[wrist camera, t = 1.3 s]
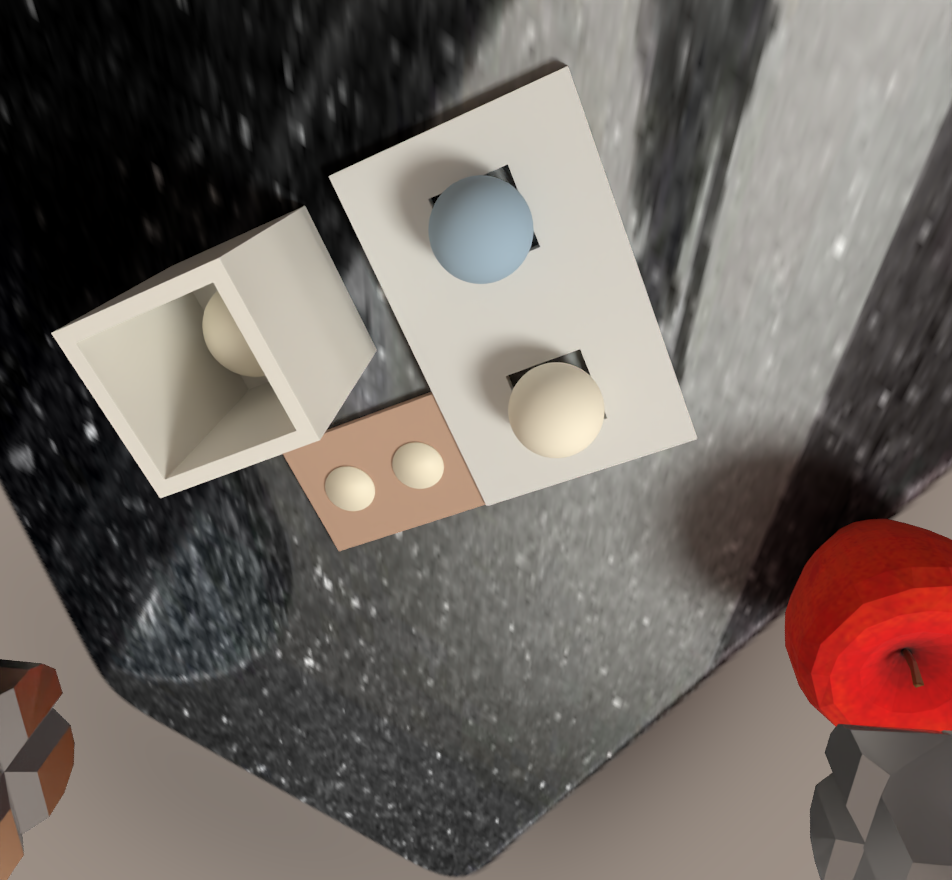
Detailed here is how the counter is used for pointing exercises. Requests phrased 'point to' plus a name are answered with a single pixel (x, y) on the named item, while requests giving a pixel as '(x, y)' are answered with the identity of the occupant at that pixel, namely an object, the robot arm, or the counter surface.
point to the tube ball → (228, 340)
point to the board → (520, 286)
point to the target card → (385, 473)
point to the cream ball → (556, 410)
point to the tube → (202, 377)
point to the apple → (876, 627)
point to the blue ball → (480, 229)
